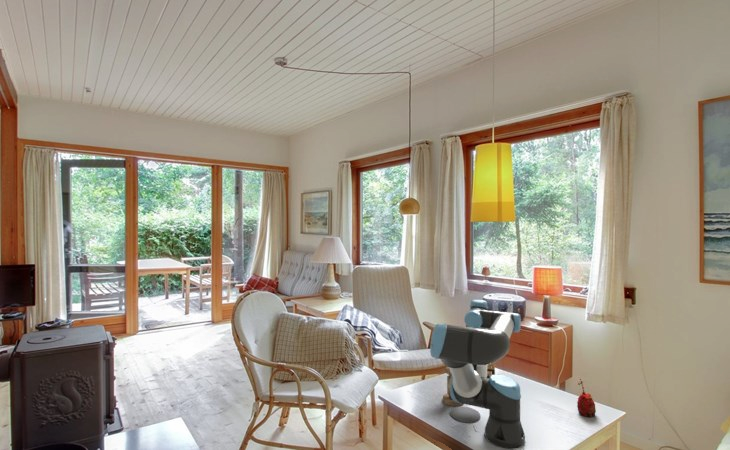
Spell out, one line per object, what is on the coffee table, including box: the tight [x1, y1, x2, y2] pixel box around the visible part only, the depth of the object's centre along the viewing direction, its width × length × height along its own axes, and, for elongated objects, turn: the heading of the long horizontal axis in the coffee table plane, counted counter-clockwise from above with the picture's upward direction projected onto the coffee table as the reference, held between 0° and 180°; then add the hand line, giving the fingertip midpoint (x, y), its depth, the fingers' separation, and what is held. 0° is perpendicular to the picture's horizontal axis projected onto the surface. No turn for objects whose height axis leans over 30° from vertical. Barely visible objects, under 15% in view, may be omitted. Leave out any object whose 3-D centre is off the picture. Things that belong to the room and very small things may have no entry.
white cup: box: [476, 364, 488, 378], centre depth 173 cm, size 8×8×10 cm
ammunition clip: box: [487, 362, 496, 378], centre depth 209 cm, size 11×2×12 cm, turn 78°
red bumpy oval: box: [576, 378, 597, 418], centre depth 170 cm, size 8×7×15 cm
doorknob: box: [442, 366, 464, 407], centre depth 181 cm, size 10×10×15 cm
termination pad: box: [449, 406, 481, 424], centre depth 169 cm, size 13×13×1 cm
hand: (478, 384), depth 173 cm, fingers closed on white cup, 7 cm apart
